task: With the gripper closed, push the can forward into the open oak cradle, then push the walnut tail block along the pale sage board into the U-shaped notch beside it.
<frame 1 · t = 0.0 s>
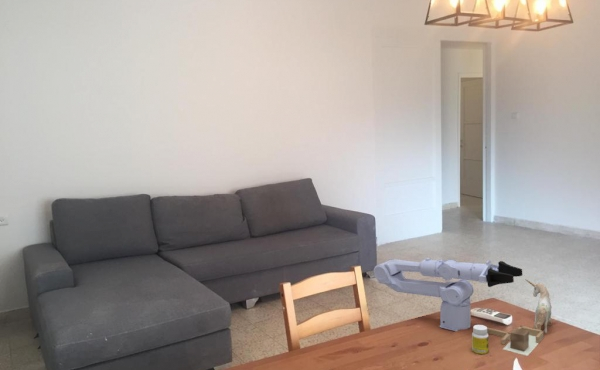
hand: (517, 275, 153), 22 cm above the table, tool horizontal, fingers open, 7 cm apart
jig board: (505, 341, 157), on the table
tail block: (519, 347, 151), point 1 cm above the table, touching jig board
unicorn figurine: (533, 326, 167), on the table
supplement bottle: (480, 354, 150), on the table
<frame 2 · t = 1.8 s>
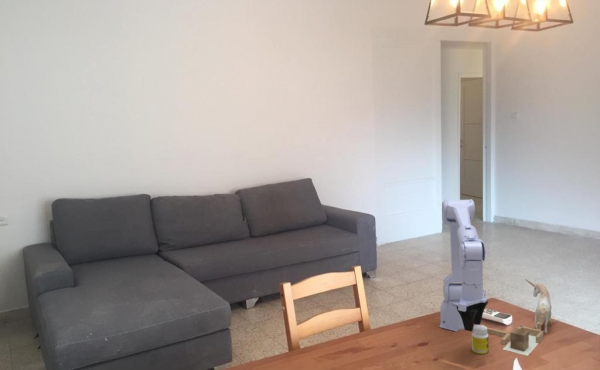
hand: (472, 327, 145), 10 cm above the table, tool pointing down, fingers open, 5 cm apart
nothing on the table moved.
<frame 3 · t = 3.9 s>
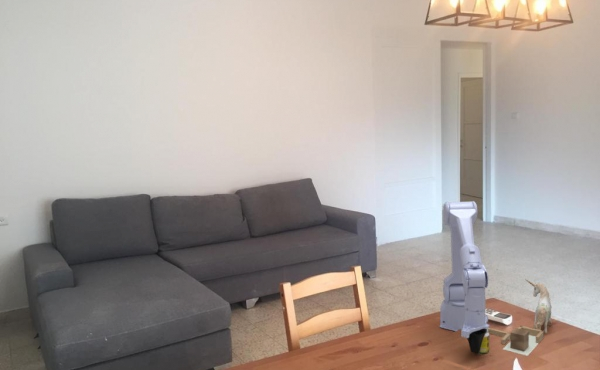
hand: (475, 352, 147), 2 cm above the table, tool pointing down, fingers closed
supplement bottle: (480, 353, 150), on the table, touching gripper
everything else where it was.
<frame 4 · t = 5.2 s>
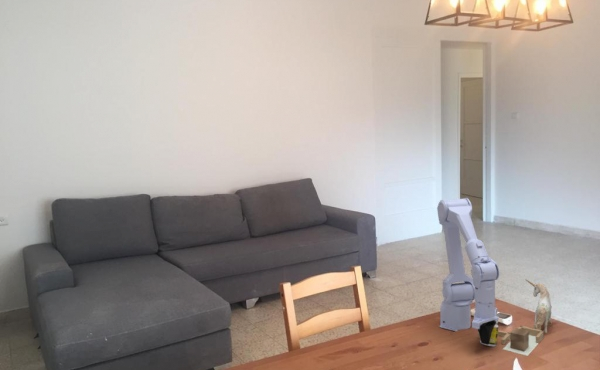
hand: (485, 343, 152), 2 cm above the table, tool pointing down, fingers closed, pressing on supplement bottle
supplement bottle: (488, 345, 154), on the table, touching gripper
everything else where it was.
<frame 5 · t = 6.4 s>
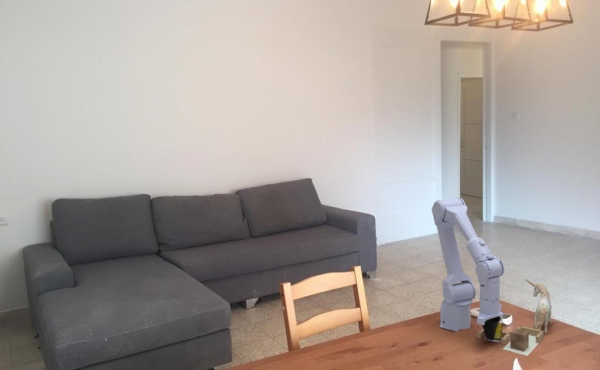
hand: (489, 339, 155), 2 cm above the table, tool pointing down, fingers closed
supplement bottle: (492, 341, 157), on the table, touching gripper
everything else where it was.
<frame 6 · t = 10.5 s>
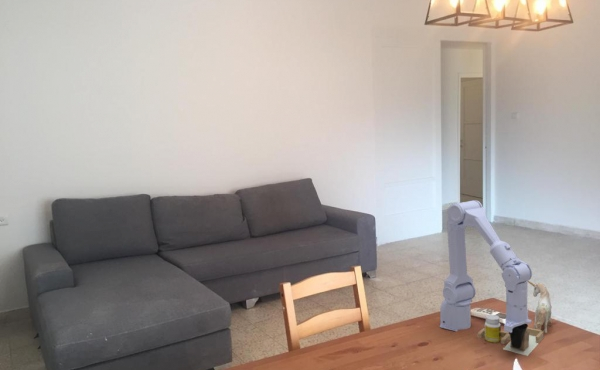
hand: (516, 347, 148), 2 cm above the table, tool pointing down, fingers closed, pressing on tail block
tail block: (519, 347, 151), point 1 cm above the table, touching gripper, jig board
supplement bottle: (492, 343, 157), on the table
everything else where it was.
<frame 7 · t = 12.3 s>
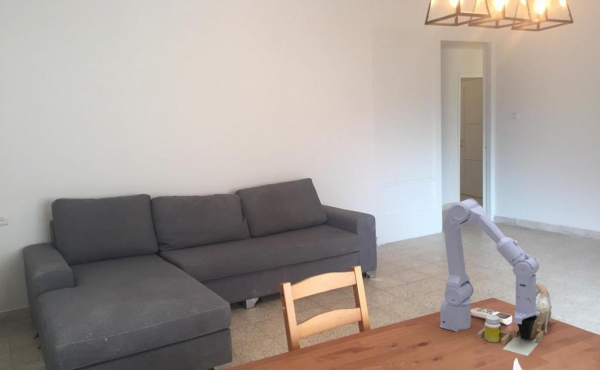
hand: (525, 338, 154), 2 cm above the table, tool pointing down, fingers closed
tail block: (527, 336, 156), point 2 cm above the table, tilted 16°, touching gripper, jig board
everything else where it was.
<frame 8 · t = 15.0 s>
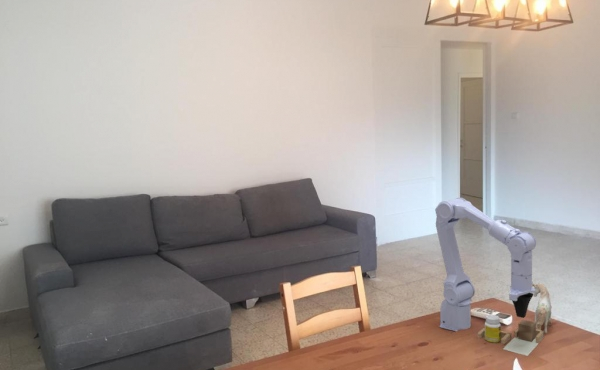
hand: (521, 316, 150), 10 cm above the table, tool pointing down, fingers closed
tail block: (526, 338, 156), point 1 cm above the table, touching jig board
everything else where it was.
at the end: supplement bottle 0.4 cm from the target spot on the jig board, point 0.0 cm above the jig board's base; supplement bottle tilted 0°; tail block 0.7 cm from the target spot on the jig board, point 1.0 cm above the jig board's base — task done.
